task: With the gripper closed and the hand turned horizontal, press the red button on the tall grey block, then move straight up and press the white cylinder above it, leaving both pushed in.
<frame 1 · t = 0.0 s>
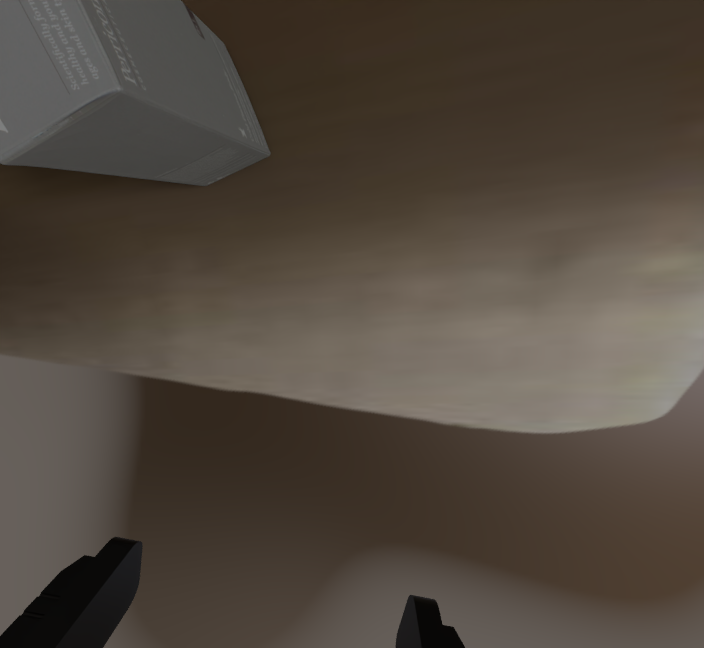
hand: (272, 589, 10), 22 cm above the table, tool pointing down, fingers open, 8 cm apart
skincare box: (210, 119, 26), on the table
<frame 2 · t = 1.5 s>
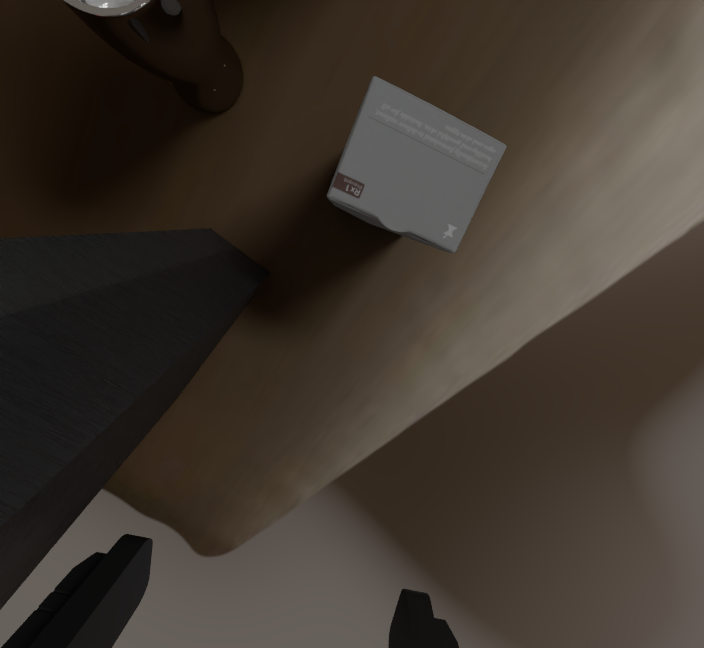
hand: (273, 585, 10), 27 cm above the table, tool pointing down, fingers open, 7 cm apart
skincare box: (377, 193, 33), on the table
tall grey block: (161, 299, 34), on the table
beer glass: (208, 74, 29), on the table
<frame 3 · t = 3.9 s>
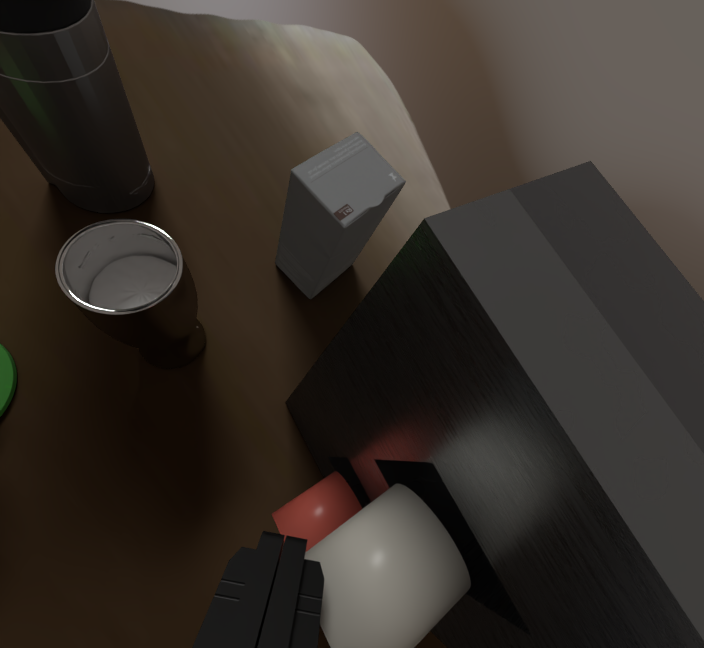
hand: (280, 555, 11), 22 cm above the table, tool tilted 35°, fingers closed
white cylinder: (378, 576, 13), point 21 cm above the table, slide at 0.1 cm, touching gripper
skincare box: (315, 268, 41), on the table
tall grey block: (326, 483, 32), on the table
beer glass: (173, 340, 33), on the table
red button: (320, 522, 22), point 10 cm above the table, slide at 0.0 cm
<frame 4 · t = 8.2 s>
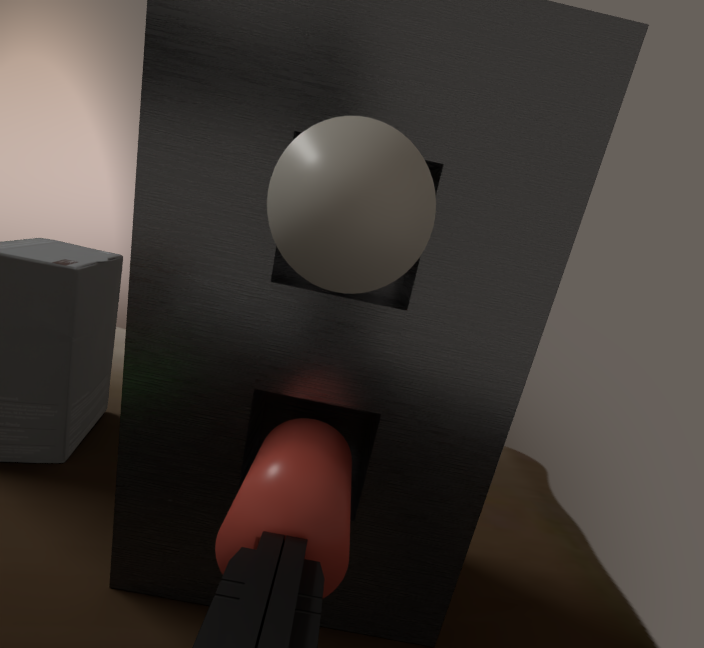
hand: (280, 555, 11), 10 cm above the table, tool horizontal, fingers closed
white cylinder: (352, 219, 11), point 21 cm above the table, slide at 0.4 cm
skincare box: (49, 436, 28), on the table
tall grey block: (274, 617, 18), on the table
red button: (296, 498, 13), point 10 cm above the table, slide at 0.3 cm, touching gripper
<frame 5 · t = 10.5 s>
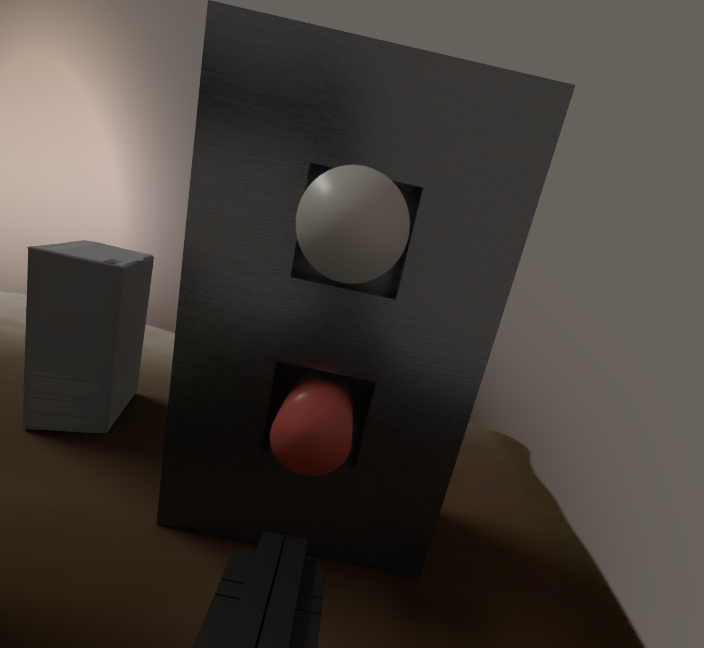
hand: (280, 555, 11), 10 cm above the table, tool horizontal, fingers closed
white cylinder: (353, 230, 15), point 21 cm above the table, slide at 0.4 cm
skincare box: (90, 412, 32), on the table
tall grey block: (289, 550, 22), on the table
red button: (316, 416, 20), point 10 cm above the table, slide at 3.0 cm
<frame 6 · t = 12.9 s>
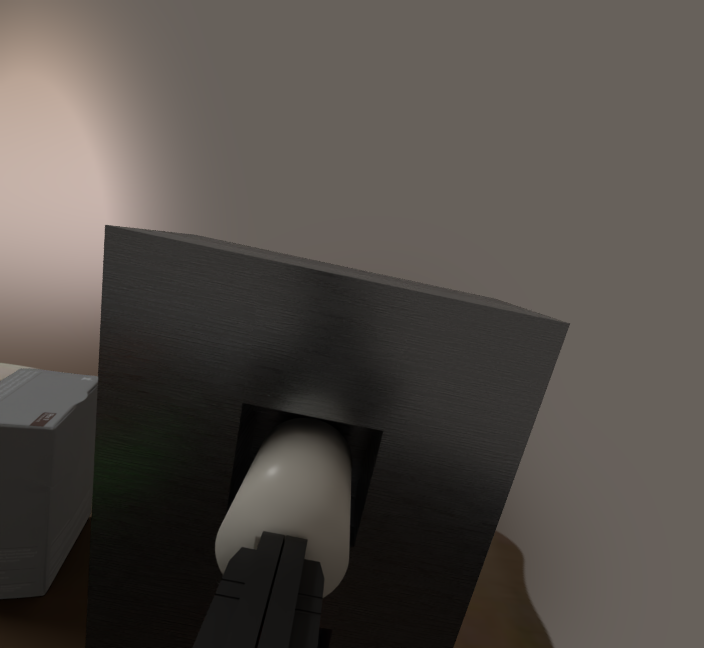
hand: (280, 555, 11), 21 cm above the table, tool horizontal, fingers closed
white cylinder: (296, 498, 13), point 21 cm above the table, slide at 1.8 cm, touching gripper
skincare box: (31, 557, 29), on the table
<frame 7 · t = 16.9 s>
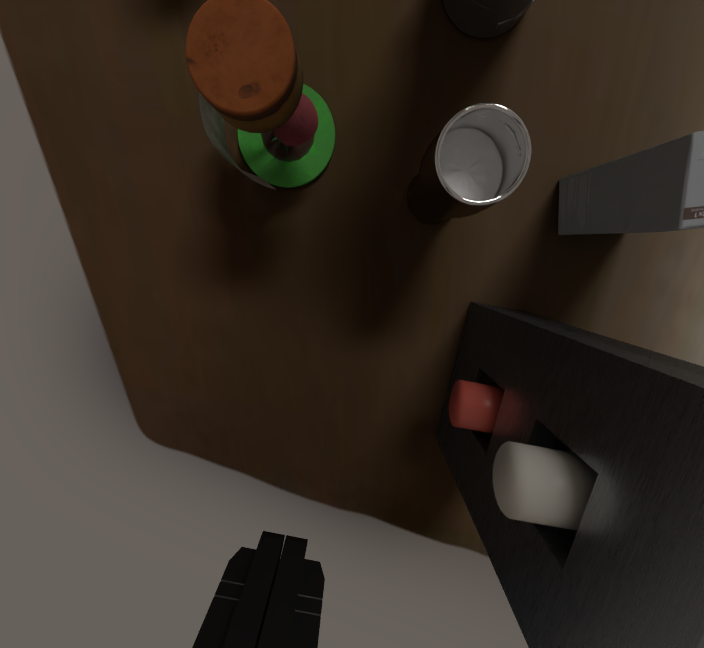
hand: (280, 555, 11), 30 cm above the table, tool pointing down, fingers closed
white cylinder: (548, 485, 20), point 21 cm above the table, slide at 3.0 cm
skincare box: (590, 207, 37), on the table
tall grey block: (452, 372, 41), on the table
mushroom figurine: (284, 133, 36), on the table
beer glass: (433, 197, 37), on the table
red button: (482, 407, 31), point 10 cm above the table, slide at 3.0 cm
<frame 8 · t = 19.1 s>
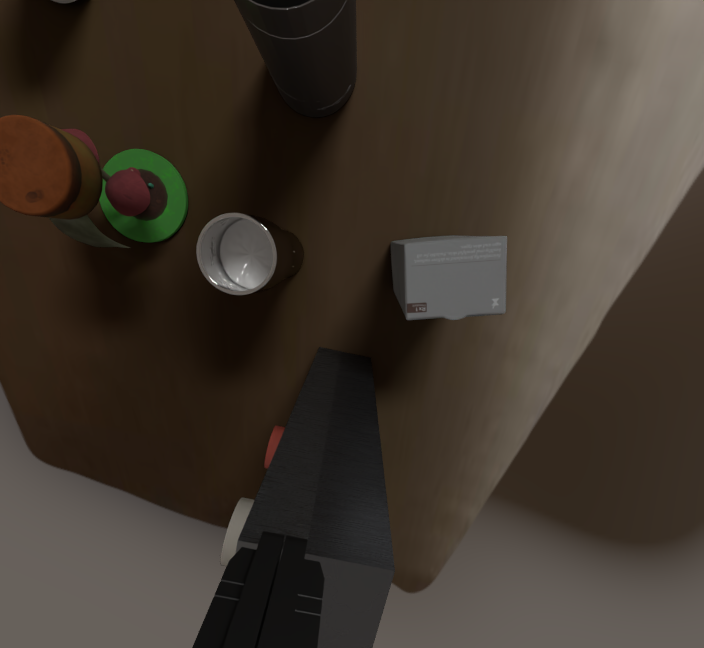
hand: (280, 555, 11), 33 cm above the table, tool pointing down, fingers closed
white cylinder: (265, 536, 25), point 21 cm above the table, slide at 3.0 cm
skincare box: (421, 267, 41), on the table
tall grey block: (307, 408, 45), on the table
mushroom figurine: (143, 194, 40), on the table
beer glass: (280, 254, 41), on the table
red button: (293, 450, 36), point 10 cm above the table, slide at 3.0 cm
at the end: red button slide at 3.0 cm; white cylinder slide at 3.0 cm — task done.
